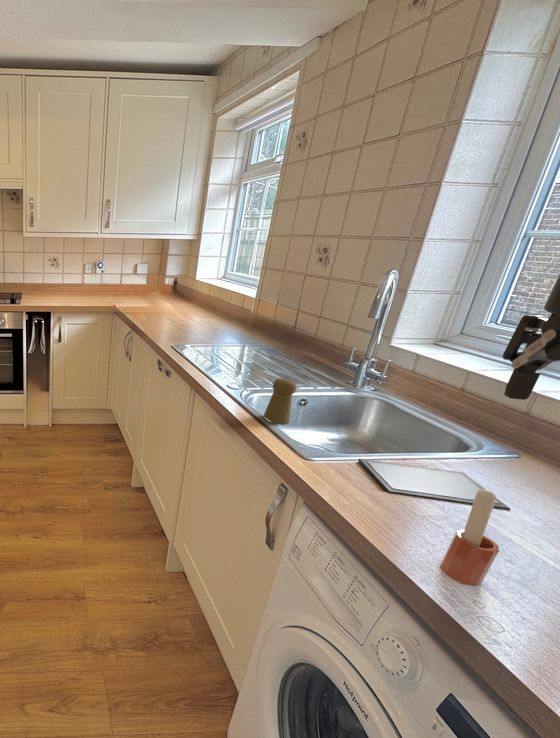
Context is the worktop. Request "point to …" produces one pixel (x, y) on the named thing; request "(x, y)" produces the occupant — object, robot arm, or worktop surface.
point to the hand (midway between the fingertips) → (543, 411)
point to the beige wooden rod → (479, 516)
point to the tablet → (425, 482)
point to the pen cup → (469, 559)
